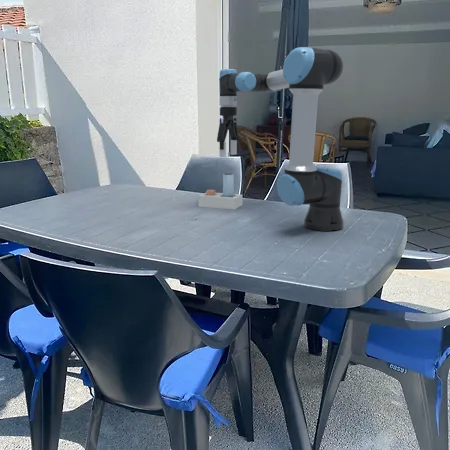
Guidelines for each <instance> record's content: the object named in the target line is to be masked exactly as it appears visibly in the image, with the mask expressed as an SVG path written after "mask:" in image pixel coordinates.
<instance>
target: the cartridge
mask: <svg viewBox="0 0 450 450" xmlns="http://www.w3.org/2000/svg"><path fill="white" fill-rule="evenodd" d="M234 191H235V173H234V171H224V172H223V174H222V193H223V197H234V194H235V192H234Z"/></svg>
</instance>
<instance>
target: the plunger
mask: <svg viewBox="0 0 450 450" xmlns="http://www.w3.org/2000/svg"><path fill="white" fill-rule="evenodd" d="M205 193H206V195H211V196H214V195H215V193H216V189H207V190H206V192H205Z"/></svg>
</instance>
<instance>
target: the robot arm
mask: <svg viewBox="0 0 450 450" xmlns="http://www.w3.org/2000/svg"><path fill="white" fill-rule="evenodd" d="M343 71H344V62H343V59H342V57H341V55H340V54H339V53H338V52H336V51H335V50H332V49H324V48H316V47H309V46H308V47H307V46H304V47H303V46H301V47H296V48H294V49H292V50H291V51H290V52H289V54H288V55H287V56H286V58H285V60H284V62H283V65H282V69H278V70H275V71H271V72H267V73H256V72H253V73H252V72H251V71H241V72H238V71H237V69H233V68H222V69H221V70H220V71H219V79H218V81H219V106H220V107H219V116H221V117H222V118H221V117H220V118H219V126H218V131H217V137H216V142H217V143H219V147H218V148H219V158H227V142H226V138H227V135H228V132H229V135H230V138H231V139H230V155H232V156H233V155H237V154H238V152H237V149H238V147H237V146H238V145H237V144H238V141H239V139H240V138H239V137H240V136H239V131H238V125H237V117H234V116H237V114H238V113H237V111H238V110H237V108H238V107H237V104H238V103H237V101H238V98H237V97H238V92H239V93H240V92H242V93H250V92H251V93H275V92H277V91H278V90H284V89H288V90H289V91H290V92H291V94H292V96H293V97H292V107H291V108H292V110H291V111H292V112H291V123H290V124H291V126H290V127H291V128H290V140H289V141H290V142H289V143H290V144H289V159H288V164H287V165H286V166H285V167H284V172H283V174H282V175H280V176H279V178H278V179H277V183H276V189H277V194H278V196H279V198H280V199H281V201H282V202H283V203H284V204H285V205H288V206H293V207H294V206H302V205H307V204H309V207H308V209H307V212H306V215H305V218H304V221H303V226H304V227H305V228H306V229H310V230H312V229H313V231H318V230H321V231H320V232H333V231H332V230H336V231H339V229H340V230H342V229H344V219H343V214H342V212H341V196H342V186H343V185H342V183H343V177H342V176H343V173H342V171H341V170H340V169H335V168H328V167H320V166H315V165H314V158H315V157H314V156H315V155H314V154H315V143H316V131H317V129H316V128H317V118H318V117H317V114H318V103H319V95H320V94H321V93H322V92H323V91H324V86H325V85H326V86H328V85H331V84H333V83H336V82H337V81H338V80H339V79H340V77H341V76H342V74H343Z"/></svg>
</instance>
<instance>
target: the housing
mask: <svg viewBox="0 0 450 450" xmlns="http://www.w3.org/2000/svg"><path fill="white" fill-rule="evenodd" d="M242 205H243V194H240V193H239V194H238V193H234V197H223V192H215V195H214V196H211V195H206V192H204V193H202V194H200V195H198V207H203V208H204V207H205V208H214V209H225V210H226V209H227V210H236V209H238V208H240V207H241V206H242Z"/></svg>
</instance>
